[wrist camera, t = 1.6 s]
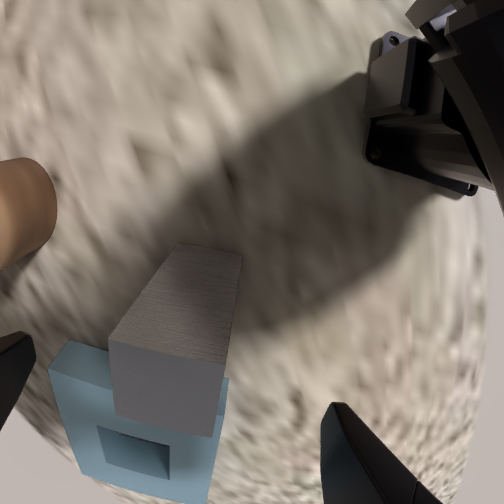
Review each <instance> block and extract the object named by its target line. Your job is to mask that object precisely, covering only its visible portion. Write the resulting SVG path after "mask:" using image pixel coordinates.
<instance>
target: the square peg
mask: <svg viewBox="0 0 504 504" xmlns="http://www.w3.org/2000/svg"><path fill="white" fill-rule="evenodd" d="M242 255H243V254H240V253H234V252H229V251H223V250H218V249H213V248H207V247H202V246H196V245H191V244H185V243H180V242H179V243H178V244H177V246H176V247H175V248H174V249H173V251H172V252H171V253H170V255H169V256H168V257H167V259H166V260H165V261H164V262H163V264H162V265H161V266H160V268H159V269H158V270H157V272H156V273H155V274H154V276H153V277H152V278H151V280H150V281H149V282H148V284H147V285H146V286H145V288H144V289H143V290H142V292H141V293H140V294H139V296H138V297H137V298H136V300H135V301H134V303H133V304H132V305H131V307H130V308H129V309H128V311H127V312H126V314H125V315H124V316H123V318H122V319H121V321H120V322H119V323H118V325H117V326H116V328H115V329H114V330H113V332H112V333H111V335H110V336H109V338H108V350H109V362H110V372H111V382H112V391H113V399H114V406H115V413H116V415H117V416H120V417H124V418H127V419H131V420H134V421H138V422H142V423H145V424H149V425H153V426H157V427H161V428H166V429H170V430H174V431H179V432H184V433H188V434H193V435H199V436H204V437H209V438H212V436H213V431H214V425H215V420H216V414H217V409H218V403H219V398H220V392H221V387H222V382H223V376H224V371H225V365H226V359H227V352H228V346H229V339H230V332H231V326H232V319H233V313H234V306H235V300H236V293H237V287H238V281H239V274H240V268H241V261H242Z"/></svg>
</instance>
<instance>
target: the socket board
mask: <svg viewBox="0 0 504 504" xmlns="http://www.w3.org/2000/svg"><path fill="white" fill-rule="evenodd" d="M47 370H48V374H49V378H50V382H51V385H52V389H53V393H54V396H55V400H56V403H57V406H58V410H59V413H60V416H61V419H62V422H63V425H64V428H65V431H66V434H67V437H68V439H69V442H70V445H71V447H72V450H73V453H74V455H75V458H76V460H77V463H78V465H79V467H80V470H81V472H82V474H84V475H87V476H90V477H92V478H95V479H98V480H101V481H103V482H106V483H109V484H112V485H115V486H119V487H122V488H125V489H128V490H132V491H135V492H139V493H142V494H146V495H150V496H154V497H158V498H162V499H166V500H171V501H176V502H180V503H185V504H206V500H207V495H208V490H209V486H210V481H211V476H212V472H213V467H214V462H215V458H216V453H217V448H218V443H219V439H220V434H221V429H222V424H223V420H224V414H225V406H226V398H227V390H228V382H229V379H228V378H223V382H222V387H221V392H220V398H219V403H218V409H217V414H216V420H215V425H214V431H213V436H212V438H209V437H204V436H199V435H193V434H188V433H184V432H179V431H174V430H170V429H166V428H161V427H157V426H153V425H149V424H145V423H142V422H138V421H134V420H131V419H127V418H124V417H120V416H117V415H116V413H115V406H114V399H113V391H112V382H111V372H110V362H109V351H106V350H102V349H99V348H96V347H92V346H89V345H86V344H83V343H79V342H76V341H73V340H69V341H68V343H67V344H66V345H65V346H64V348H63V349H62V350H61V351H60V352H59V354H58V355H57V356H56V357H55V359H54V360H53V361H52V362H51V363H50V365H49V366H48V367H47ZM118 432H120V433H123V434H127V435H130V436H133V437H137V438H141V439H144V440H148V441H152V442H156V443H160V444H164V445H169V446H170V447H167V446H162V445H158V444H154V443H150V442H147V441H143V440H139V439H135V438H132V437H128V436H125V435H122V434H118Z"/></svg>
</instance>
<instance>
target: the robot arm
mask: <svg viewBox="0 0 504 504" xmlns="http://www.w3.org/2000/svg"><path fill="white" fill-rule="evenodd" d="M405 15H406V17H407V18H408V19H409V20H410V22H411V23H412V24H413V26H414V27H415V28H416V30H417V29H420V30H421V32H422V33H423V35H424V36H425V38H424V39H420V38H418V37H416V36H413V37H411V38H409V37H407V36H404V35H402V34H399V33H397V32H393V31H390V32H387V33H386V34H385V35H384V36H382V39H381V46H380V53H379V58H377V59H376V60H374V61H373V62H372V64H371V71H370V77H369V83H368V89H367V95H366V101H365V106H364V114H365V116H366V118H367V119H369V120H368V125H367V130H366V136H365V140H364V145H363V150H362V155H363V158H364V160H365V161H366V162H367V163H369V164H372V165H375V166H379V167H382V168H386V169H389V170H393V171H396V172H399V173H402V174H406V175H409V176H412V177H415V178H418V179H421V180H424V181H427V182H430V183H433V184H436V185H439V186H442V187H445V188H447V189H450V190H453V191H456V192H458V193H461V194H464V195H467V196H473V195H475V194H476V192H477V190H478V186H480V187H484V188H487V189H491V190H494V191H495V193H496V195H497V198H498V201H499V204H500V207H501V210H502V213H503V216H504V0H416V1H415V2H414V4H413V5H412V6H411V7H410V9H409V10H408V11H407V13H406V14H405ZM389 38H391V39H393V40H394V41H395V42H396V46H394V45H392V44H391V43H390V41H389ZM373 148H375V149H377V151H378V156H377V158H375V159H373V158H372V157H371V155H370V152H371V150H372V149H373ZM468 183H470V188H469V189H467V184H468ZM35 361H36V353H35V348H34V344H33V339H32V337H31V335H29V334H27V333H25V332H22V331H18V332H15V333H12V334H10V335H7V336H4V337H1V338H0V431H1V429H2V427H3V425H4V423H5V421H6V420H7V417H8V416H9V414H10V413H11V411H12V409H13V407H14V405H15V404H16V402H17V400H18V398H19V396H20V394H21V392H22V390H23V387H24V385H25V383H26V381H27V379H28V377H29V374H30V372H31V370H32V368H33V366H34V364H35ZM320 471H321V482H322V490H323V499H324V504H443V503H442V502H441V501H439V500H438V499H437V498H436V497H435V496H434V495H433V494H432V493H431V492H430V491H429V490H428V489H427V488H426V487H425V486H424V485H423V484H422V483H421V482H420V481H417V478H416V477H415V476H414V475H413V474H412V473H411V472H410V471H409V470H408V469H407V468H406V467H405V466H404V465H403V464H402V463H401V461H400V460H399V459H398V458H397V457H396V456H395V455H394V454H393V453H392V452H391V451H390V450H389V449H388V448H387V447H386V446H385V445H384V444H383V442H382V441H381V440H380V439H379V438H378V437H377V436H376V435H375V434H374V433H373V432H372V431H371V430H370V429H369V427H368V426H367V425H366V424H365V423H364V422H363V421H362V420H361V419H360V418H359V417H358V416H357V415H356V413H355V412H354V411H353V410H352V409H351V408H350V407H349V406H348V405H347V404H346V403H344V402H332V403H331V404H330V405H329V407H328V409H327V411H326V413H325V415H324V417H323V419H322V422H321V455H320Z"/></svg>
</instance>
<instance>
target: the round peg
mask: <svg viewBox="0 0 504 504" xmlns="http://www.w3.org/2000/svg"><path fill="white" fill-rule="evenodd" d="M56 219H57V199H56V193H55V189H54V186H53V184H52V181H51V179H50V177H49V175H48V174H47V172H46V171H45V169H44V168H43V167H42V166H41V165H40V164H38V163H37V162H36V161H34V160H32V159H29V158H17V159H11V160H5V161H0V271H1V270H2V269H4V268H5V267H7V266H9V265H10V264H12V263H13V262H15V261H17V260H18V259H20V258H22V257H23V256H25V255H27V254H28V253H30V252H32V251H33V250H35V249H37V248H39V247H40V246H42V245H43V244H44V243H46V242H47V240H48V239H49V238H50V236H51V234H52V233H53V230H54V227H55V224H56Z"/></svg>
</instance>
